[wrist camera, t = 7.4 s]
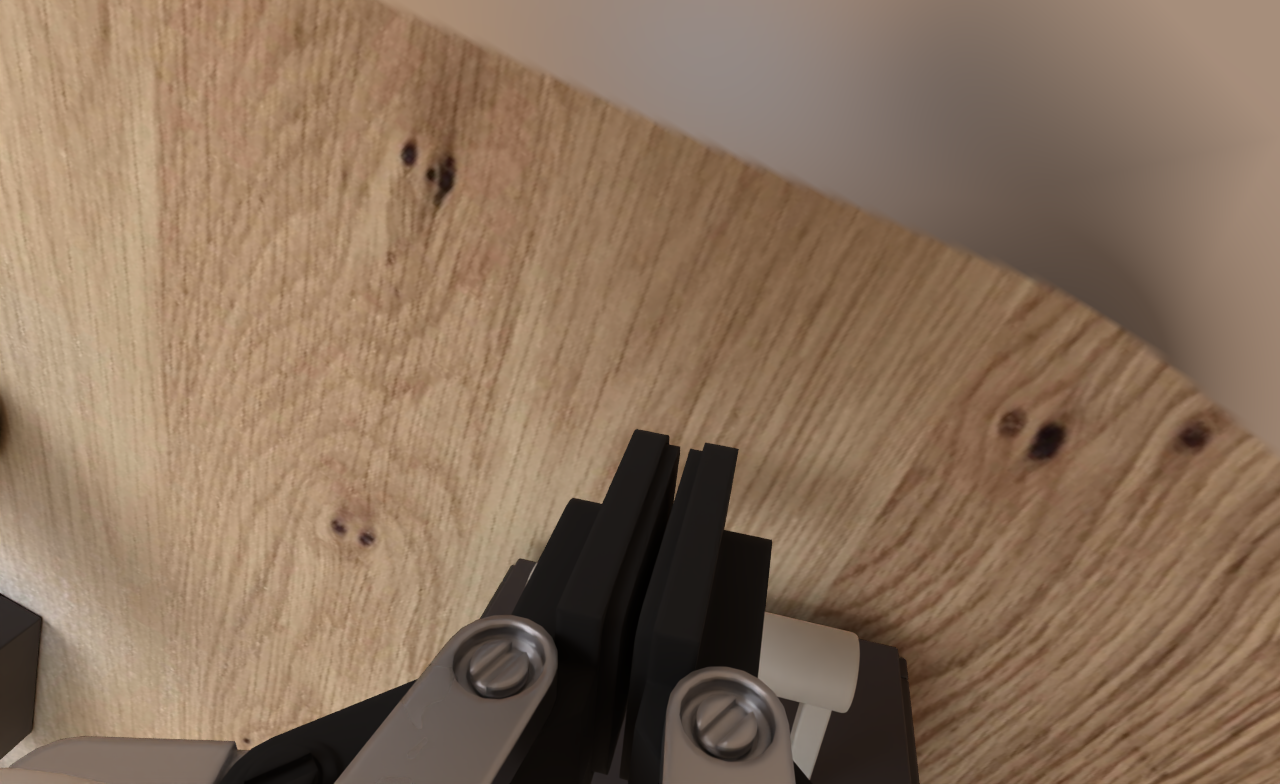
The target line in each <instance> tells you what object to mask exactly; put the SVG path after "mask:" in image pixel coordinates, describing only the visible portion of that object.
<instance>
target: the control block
mask: <svg viewBox="0 0 1280 784" xmlns="http://www.w3.org/2000/svg"><path fill="white" fill-rule="evenodd" d="M40 625H41V618H40V617H38V616H37V615H35V614H33V613H31V612H30V611H28V610H26V609H24V608H23V607H21V606H19V605H17V604H16V603H14V602H12V601H10V600H8V599H7V598H5V597H3V596H1V595H0V759H2V758H3V757H4V756H5V755H6V754H7V753H8V752H9V751H10V750H12V749H13V748H14V747H15V746H16V745H17V744H18V743H19V742H21V741H22V740H23V739H24V738H25V737H26V736H27V735H28V734H30V733H31V731H32V719H33V707H34V695H35V684H36V672H37V660H38V649H39V637H40Z"/></svg>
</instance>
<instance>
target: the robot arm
mask: <svg viewBox="0 0 1280 784" xmlns="http://www.w3.org/2000/svg"><path fill="white" fill-rule="evenodd" d="M738 450H739V449H736V448H731V447H726V446H721V445H715V444H710V443H705V445H704V448H703V451H699V450H694V449H690V451H689V454H688V458H687V461H686V464H685V467H684V471H683V474H682V477H681V481H680V484H679V487H678V491H677V494H676V497H675V500H674V494H675V487H676V479H677V472H678V464H679V457H680V447H679V446H674V445H669V435H664V434H659V433H654V432H649V431H643V430H638V429H636V430H635V431H634V433H633V435H632V438H631V440H630V442H629V444H628V447H627V449H626V451H625V453H624V456H623V458H622V460H621V462H620V465H619V467H618V469H617V472H616V474H615V476H614V478H613V481H612V483H611V485H610V487H609V490H608V492H607V494H606V497H605V499H604V501H603V503H602V504H600V503H595V502H590V501H585V500H581V499H576V498H572V499H571V500H570V501H569V503H568V504H567V506H566V508H565V510H564V511H563V513H562V515H561V517H560V519H559V521H558V523H557V525H556V527H555V529H554V531H553V533H552V535H551V537H550V539H549V541H548V543H547V545H546V547H545V549H544V551H543V553H542V555H541V557H540V559H539V561H538V563H537V565H536V567H535V569H534V571H533V573H532V574H531V576H530V578H529V580H528V582H527V584H526V586H525V588H524V590H523V592H522V594H521V596H520V598H519V600H518V602H517V604H516V606H515V608H514V610H513V612H512V614H511V615H494V616H490V617H486V618H482V619H478V620H476V621H474V622H472V623H470V624H468V625H467V626H465V627H463V628H461V629H460V630H459V631H458V632H457V633H456V634H455V635H454V636H453V637H452V638H451V639H450V640H449V641H448V642H447V643H446V645H445V646H444V647H443V648H442V650H441V651H440V652H439V653H438V655H437V656H436V657H435V658H434V660H433V661H432V662H431V663H430V664H429V666H428V667H427V668H426V669H425V671H424V672H423V673H422V674H421V676H420V677H419V678H418V679H416V680H414V681H411V682H409V683H407V684H404V685H402V686H399V687H397V688H394V689H392V690H389V691H387V692H384V693H382V694H379V695H377V696H374V697H372V698H369V699H367V700H364V701H362V702H359V703H357V704H354V705H352V706H349V707H347V708H345V709H342V710H340V711H337V712H335V713H332V714H330V715H327V716H325V717H322V718H320V719H317V720H315V721H312V722H310V723H307V724H305V725H302V726H300V727H297V728H295V729H292V730H290V731H287V732H285V733H283V734H280V735H278V736H275V737H273V738H271V739H269V740H267V741H265V742H263V743H261V744H260V745H258V746H256V747H254V748H252V749H251V750H237V747H236V743H235V741H214V740H185V739H155V738H125V737H95V736H81V737H73V738H65V739H60V740H57V741H54V742H52V743H49V744H47V745H44V746H41V747H39V748H36V749H35V750H33V751H32V752H30V753H28V754H27V755H25V756H24V757H22V758H21V759H19V760H18V761H16V762H15V763H13V764H12V765H11V766H10V767H9V768H0V784H591V782H592V779H593V775H594V772H597V773H601V774H605V775H608V773H609V770H610V767H611V764H612V760H613V757H614V753H615V750H616V746H617V743H618V739H619V735H620V732H621V728H622V725H623V721H624V718H625V714H626V721H625V730H624V739H623V748H622V756H621V765H620V774H619V778H620V779H623V780H627V781H628V784H812V782H811V781H810V780H809V779H808V778H807V776H806V775H805V774H804V773H803V772H802V770H801V769H800V768H799V767H798V765H797V764H796V763H795V762H794V761H793V756H792V747H791V738H790V729H789V723H788V719H787V716H786V712H785V709H784V706H783V705H782V703H781V702H780V700H779V699H778V697H777V696H776V694H775V693H774V692H773V691H772V690H771V689H770V688H769V687H768V686H767V685H766V684H765V683H763V682H762V681H761V680H760V679H758V672H759V663H760V653H761V644H762V634H763V625H764V615H765V606H766V597H767V587H768V578H769V568H770V559H771V549H772V540H769V539H764V538H760V537H755V536H750V535H746V534H741V533H736V532H731V531H727V530H724V527H725V522H726V516H727V511H728V505H729V500H730V494H731V489H732V483H733V478H734V472H735V467H736V461H737V455H738ZM673 502H674V504H673ZM626 711H627V712H626Z"/></svg>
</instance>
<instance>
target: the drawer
mask: <svg viewBox="0 0 1280 784" xmlns="http://www.w3.org/2000/svg"><path fill="white" fill-rule="evenodd" d="M537 563H538V562H533V561H528V560H524V559H519V560H518V561H517V563H516V564H515V566H514V568H513V570H512V571H511V573H510V575H509V576H508V578H507V580H506V582H505V583H504V585H503V587H502V589H501V590H500V592H499V594H498V595H497V597H496V599H495V601H494V602H493V604H492V606H491V607H490V609H489V611H488V613H487V614H486V616H485V618H486V617H490V616H494V615H511V614H512V612H513V610H514V608H515V606H516V604H517V602H518V600H519V598H520V596H521V594H522V592H523V590H524V588H525V586H526V584H527V582H528V580H529V578H530V576H531V574H532V573H533V571H534V569H535V567H536V565H537ZM758 679H760V680H761V681H762V682H763V683H765V684H766V685H767V686H768V687H769V688H770V689H771V690H772V691H773V692H774V693H775V694H776V696H777V697H778V699H779V700H780V702H781V703H782V705H783V706H784V709H785V712H786V716H787V719H788V723H789V729H790V738H791V747H792V756H793V761H794V762H795V763H796V764H797V765H798V767H799V768H800V769H801V770H802V772H803V773H804V774H805V775H806V776H807V778H808V779H809V780H810V781H811V782H812V784H911V776H910V766H909V756H908V746H907V735H906V725H905V715H904V705H903V695H902V684H901V674H900V664H899V654H898V649H897V648H896V647H892V646H887V645H883V644H879V643H875V642H870V641H866V640H862V639H858V636H857V635H856V634H855V633H853V632H849V631H845V630H841V629H837V628H832V627H828V626H824V625H820V624H815V623H811V622H807V621H803V620H798V619H794V618H790V617H786V616H781V615H777V614H773V613H769V612H765V615H764V625H763V634H762V644H761V653H760V663H759V672H758ZM626 712H627V711H626ZM625 721H626V714H625V718H624V721H623V725H622V728H621V732H620V735H619V739H618V743H617V746H616V750H615V753H614V757H613V760H612V764H611V767H610V770H609V773H608V775H605V774H601V773H597V772H594V775H593V779H592V782H591V784H628V781H627V780H623V779H620V778H619V774H620V765H621V756H622V748H623V739H624V730H625Z"/></svg>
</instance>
